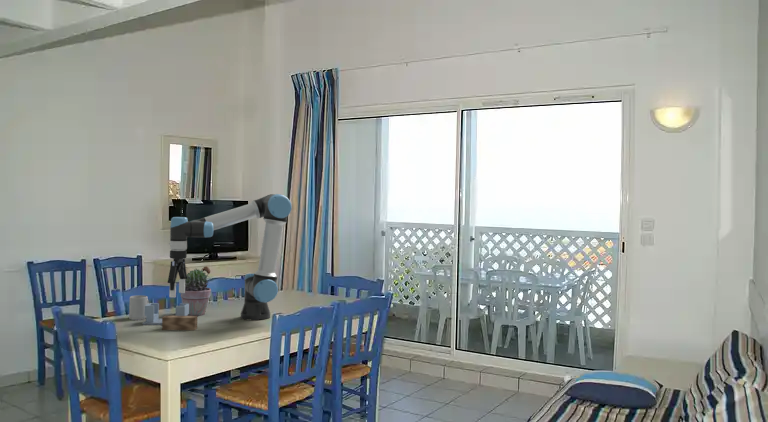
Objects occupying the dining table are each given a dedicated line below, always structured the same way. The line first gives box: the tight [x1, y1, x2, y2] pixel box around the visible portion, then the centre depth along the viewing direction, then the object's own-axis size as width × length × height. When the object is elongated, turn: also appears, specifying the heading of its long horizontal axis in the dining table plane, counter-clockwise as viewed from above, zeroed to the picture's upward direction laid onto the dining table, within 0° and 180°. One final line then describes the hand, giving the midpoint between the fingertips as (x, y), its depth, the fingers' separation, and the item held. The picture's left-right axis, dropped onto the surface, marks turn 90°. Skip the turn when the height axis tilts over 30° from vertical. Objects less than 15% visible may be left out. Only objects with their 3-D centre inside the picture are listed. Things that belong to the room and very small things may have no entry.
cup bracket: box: [142, 302, 189, 326], centre depth 304 cm, size 20×10×9 cm, turn 92°
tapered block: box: [161, 315, 198, 331], centre depth 291 cm, size 15×4×6 cm, turn 92°
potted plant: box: [180, 265, 212, 317], centre depth 327 cm, size 18×20×25 cm
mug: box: [128, 294, 150, 321], centre depth 315 cm, size 12×8×11 cm
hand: (177, 295), depth 292 cm, fingers open, 13 cm apart
